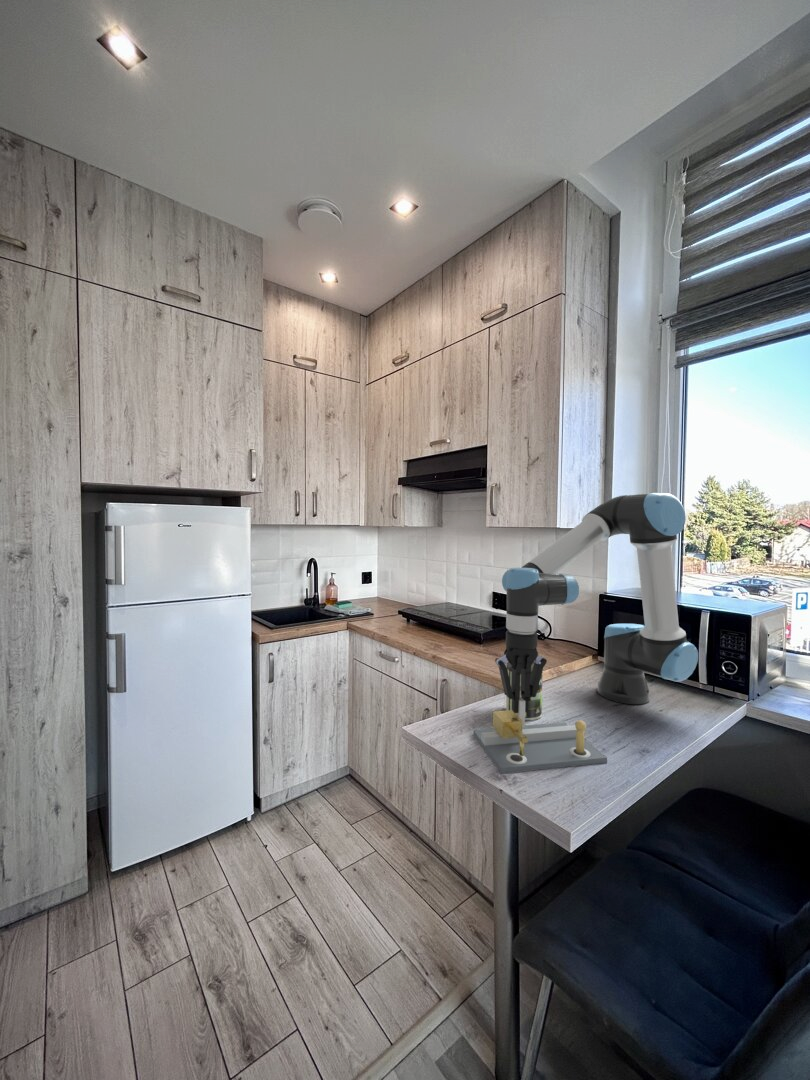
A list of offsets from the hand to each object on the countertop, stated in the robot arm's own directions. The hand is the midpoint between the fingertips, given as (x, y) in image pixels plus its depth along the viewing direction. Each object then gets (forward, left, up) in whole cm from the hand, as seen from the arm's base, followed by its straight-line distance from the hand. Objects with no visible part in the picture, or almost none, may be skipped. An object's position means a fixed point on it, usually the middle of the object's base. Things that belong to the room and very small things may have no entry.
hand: (519, 724), depth 107 cm
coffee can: (-10, -17, -5) cm, 20 cm away
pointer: (+3, +3, -3) cm, 5 cm away
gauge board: (-4, +2, -5) cm, 6 cm away
